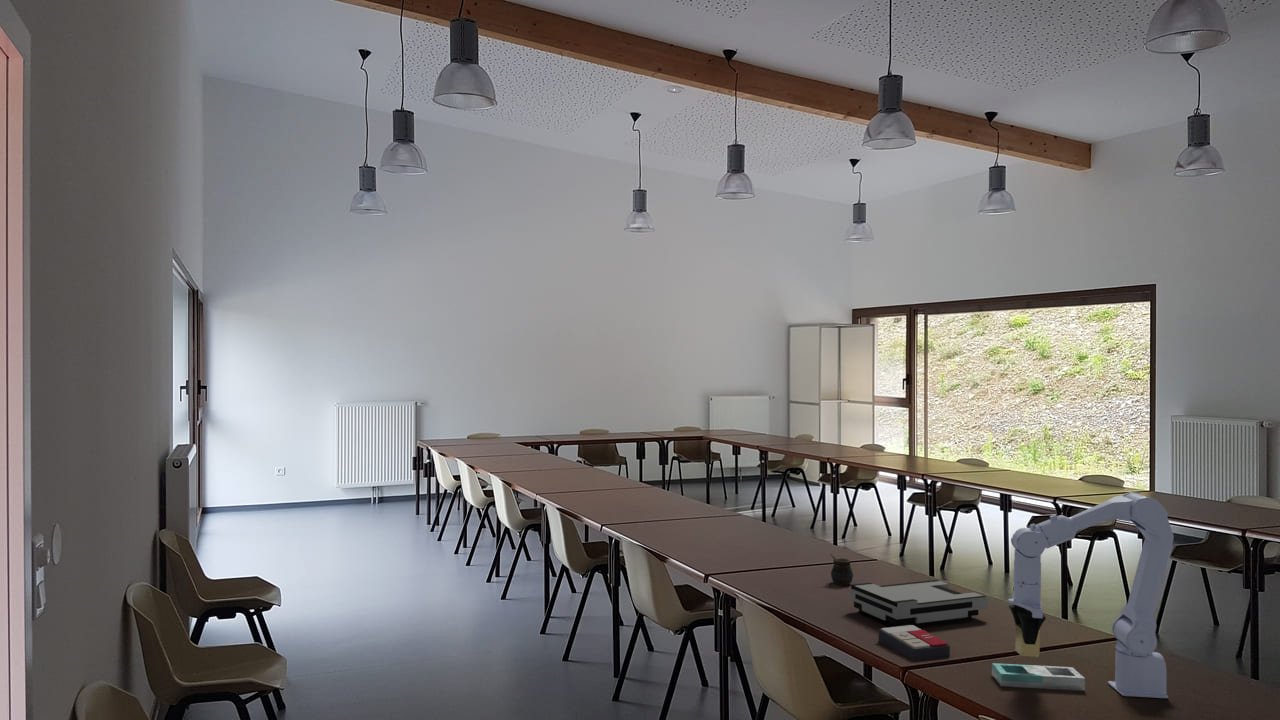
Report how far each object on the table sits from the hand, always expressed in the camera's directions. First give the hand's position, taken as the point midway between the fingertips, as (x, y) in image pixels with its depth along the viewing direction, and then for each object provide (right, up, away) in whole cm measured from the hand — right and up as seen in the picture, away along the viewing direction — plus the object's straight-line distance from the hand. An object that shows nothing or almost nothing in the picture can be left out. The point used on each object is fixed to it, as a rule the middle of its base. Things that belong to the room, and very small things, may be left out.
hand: (1026, 640), depth 193 cm
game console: (-8, -11, +52) cm, 54 cm away
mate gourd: (-21, -11, +88) cm, 91 cm away
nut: (0, -3, 0) cm, 3 cm away
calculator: (-19, -10, +23) cm, 31 cm away
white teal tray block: (+2, -10, 0) cm, 10 cm away
